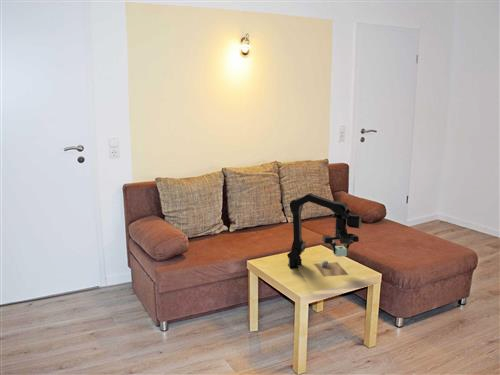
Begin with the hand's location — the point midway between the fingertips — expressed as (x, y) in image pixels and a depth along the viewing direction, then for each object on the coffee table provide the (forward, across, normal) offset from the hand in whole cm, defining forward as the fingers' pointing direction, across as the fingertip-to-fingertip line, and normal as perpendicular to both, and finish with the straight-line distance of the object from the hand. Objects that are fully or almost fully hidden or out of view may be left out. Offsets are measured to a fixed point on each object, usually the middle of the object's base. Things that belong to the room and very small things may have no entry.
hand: (339, 253), depth 240 cm
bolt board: (+12, -3, +5) cm, 13 cm away
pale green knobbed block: (0, 0, 0) cm, 0 cm away
